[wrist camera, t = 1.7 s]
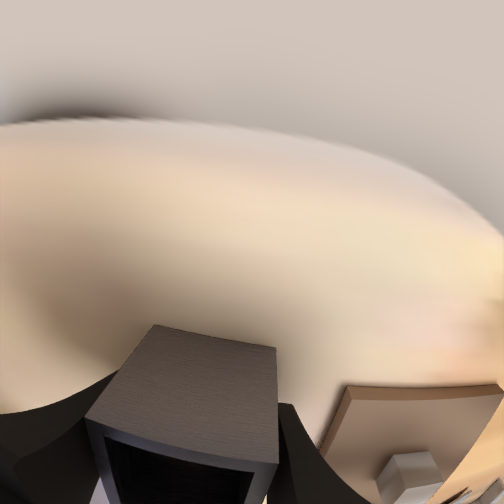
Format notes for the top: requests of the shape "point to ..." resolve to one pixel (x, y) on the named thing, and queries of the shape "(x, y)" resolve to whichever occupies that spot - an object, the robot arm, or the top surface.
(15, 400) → the top surface
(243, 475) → the hollow square tube
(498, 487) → the adjustable wrench
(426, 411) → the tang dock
